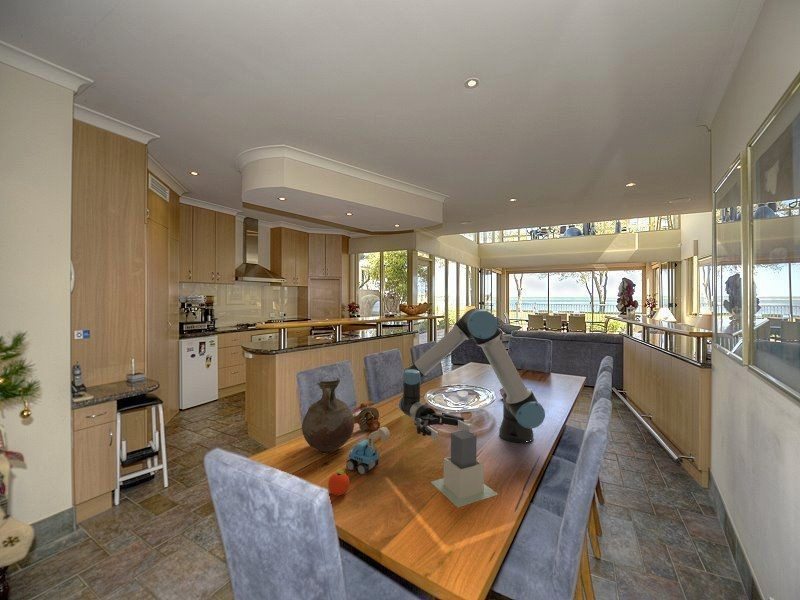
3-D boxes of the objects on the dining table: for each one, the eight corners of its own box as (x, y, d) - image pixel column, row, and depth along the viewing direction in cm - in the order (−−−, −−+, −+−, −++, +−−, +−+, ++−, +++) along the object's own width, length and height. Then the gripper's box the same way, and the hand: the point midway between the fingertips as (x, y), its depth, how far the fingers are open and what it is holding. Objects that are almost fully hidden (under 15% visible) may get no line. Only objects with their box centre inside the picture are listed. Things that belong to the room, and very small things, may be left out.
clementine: (337, 484, 119) (337, 464, 119) (355, 489, 116) (355, 468, 116) (323, 497, 112) (323, 475, 112) (342, 502, 109) (342, 479, 109)
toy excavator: (380, 482, 121) (380, 433, 120) (344, 469, 130) (344, 424, 129) (393, 471, 128) (393, 425, 128) (358, 460, 137) (358, 417, 137)
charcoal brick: (465, 458, 119) (465, 429, 119) (476, 466, 114) (476, 436, 114) (450, 462, 117) (451, 432, 117) (461, 470, 111) (461, 439, 111)
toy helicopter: (382, 429, 168) (382, 401, 168) (342, 438, 157) (342, 408, 157) (374, 424, 175) (374, 397, 175) (335, 432, 164) (335, 403, 164)
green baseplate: (467, 474, 126) (467, 471, 126) (498, 497, 112) (498, 494, 112) (430, 484, 119) (430, 481, 119) (457, 510, 105) (457, 507, 105)
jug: (348, 435, 160) (348, 371, 160) (359, 456, 140) (359, 382, 140) (300, 442, 153) (300, 375, 152) (304, 465, 132) (304, 387, 132)
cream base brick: (466, 477, 122) (466, 452, 122) (483, 491, 113) (484, 464, 113) (443, 484, 118) (443, 458, 117) (460, 499, 109) (460, 470, 109)
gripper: (448, 418, 145) (481, 437, 126) (395, 428, 133) (422, 450, 114) (448, 400, 144) (482, 416, 125) (395, 409, 133) (423, 428, 114)
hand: (453, 433), depth 120 cm, fingers open, 13 cm apart
